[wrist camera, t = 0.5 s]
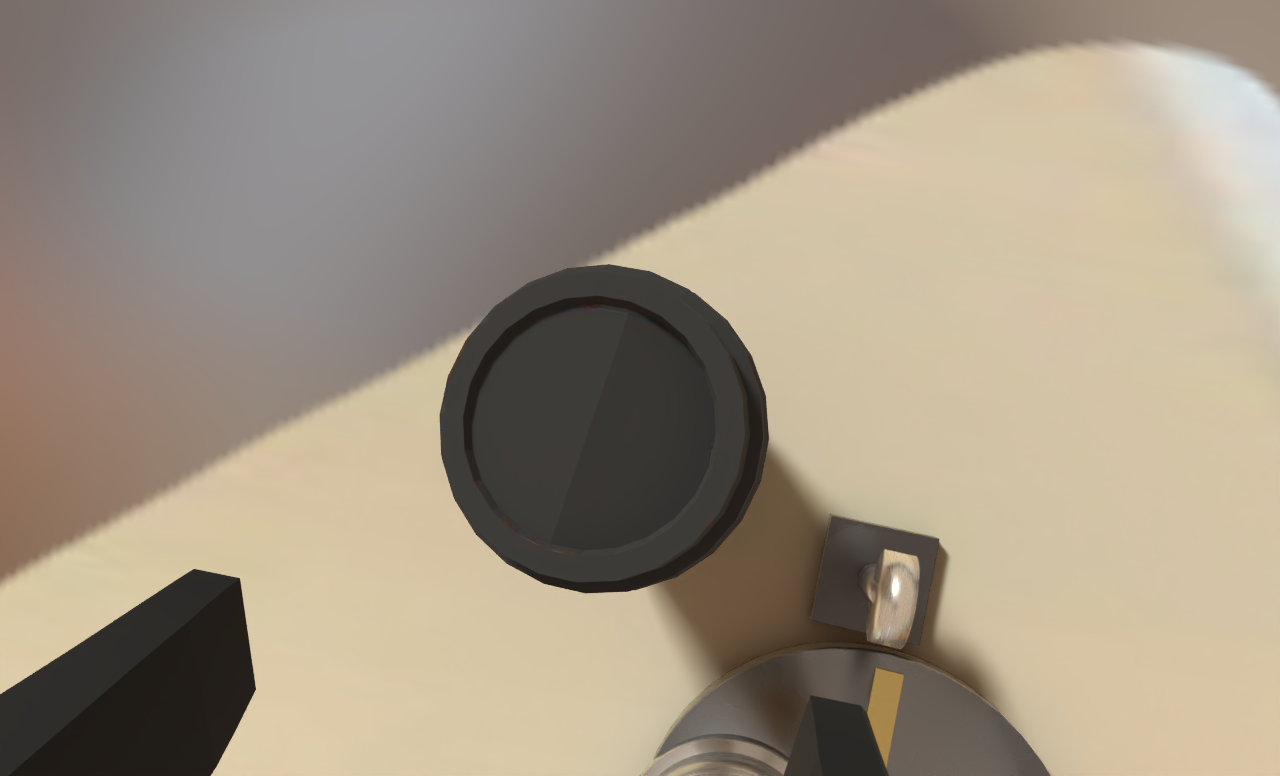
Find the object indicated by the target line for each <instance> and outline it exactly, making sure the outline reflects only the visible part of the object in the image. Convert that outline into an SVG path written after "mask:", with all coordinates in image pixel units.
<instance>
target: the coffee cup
mask: <svg viewBox="0 0 1280 776" xmlns="http://www.w3.org/2000/svg"><path fill="white" fill-rule="evenodd" d="M440 435H441V456H442V460H443V463H444V467H445V470H446V473H447V477H448V480H449V483H450V487H451V490H452V493H453V497H454V499H455V501H456V502H457V504H458V506H459V507H460V509H461V511H462V512H463V514H464V515H465V517H466V519H467V520H468V522H469V524H470V525H471V527H472V529H473V530H474V532H475V533H476V535H477V536H478V537H479V538H480V539H481V540H483V541H484V542H485V543H486V544H487V545H488V546H489V547H490V548H491V549H492V550H493V551H494V552H495V553H496V554H497V555H498V556H499V557H500V558H501V559H502V560H503V561H505V562H506V563H507V564H509V565H510V566H512V567H514V568H516V569H518V570H520V571H521V572H523V573H525V574H527V575H529V576H531V577H533V578H534V579H536V580H538V581H540V582H542V583H544V584H548V585H552V586H556V587H561V588H565V589H569V590H574V591H578V592H582V593H603V592H627V591H631V590H638V589H641V588H644V587H647V586H650V585H653V584H656V583H659V582H662V581H666V580H669V579H672V578H675V577H677V576H679V575H680V574H682V573H684V572H685V571H687V570H688V569H690V568H691V567H693V566H694V565H696V564H697V563H699V562H700V561H702V560H703V559H705V558H706V557H708V556H709V555H711V554H712V553H714V551H715V550H716V549H717V548H718V547H719V546H720V545H721V543H722V542H723V541H724V540H725V539H726V538H727V537H728V535H729V534H730V533H731V532H732V531H733V530H734V529H735V528H736V526H737V525H738V524H739V523H740V522H741V521H742V519H743V517H744V515H745V513H746V511H747V508H748V506H749V504H750V502H751V500H752V498H753V496H754V494H755V492H756V490H757V488H758V486H759V484H760V482H761V477H762V472H763V467H764V462H765V456H766V451H767V446H768V441H769V434H768V420H767V407H766V395H765V392H764V390H763V387H762V384H761V381H760V378H759V375H758V373H757V370H756V367H755V364H754V361H753V358H752V356H751V354H750V353H749V351H748V350H747V348H746V347H745V345H744V344H743V342H742V341H741V340H740V338H739V337H738V335H737V334H736V332H735V331H734V329H733V328H732V327H731V325H730V324H729V322H728V321H727V320H726V319H725V318H724V317H723V316H721V315H720V314H719V313H718V312H717V311H715V310H714V309H713V308H712V307H711V306H710V305H708V304H707V303H706V302H705V301H704V300H702V299H701V298H700V297H699V296H698V295H696V294H695V293H693V292H691V291H690V290H689V289H687V288H685V287H683V286H681V285H678V284H676V283H674V282H672V281H670V280H668V279H666V278H663V277H661V276H659V275H657V274H655V273H653V272H650V271H645V270H639V269H633V268H627V267H621V266H616V265H610V264H608V265H597V266H587V267H576V268H567V269H564V270H562V271H559V272H556V273H553V274H551V275H548V276H546V277H543V278H540V279H537V280H535V281H532V282H529V283H527V284H526V285H525V286H523V287H522V288H521V289H519V290H517V291H516V292H515V293H513V294H512V295H510V296H509V297H508V298H506V299H504V300H503V301H502V302H500V303H499V304H497V305H496V306H495V307H494V308H493V309H492V310H491V311H490V312H489V314H488V315H487V316H486V317H485V318H484V319H483V320H482V322H481V323H480V324H479V325H478V326H477V327H476V329H475V330H474V331H473V332H472V333H471V334H470V336H469V337H468V338H467V340H466V341H465V343H464V345H463V347H462V349H461V351H460V353H459V355H458V357H457V359H456V361H455V363H454V365H453V367H452V369H451V371H450V373H449V375H448V378H447V383H446V388H445V393H444V397H443V402H442V407H441V411H440Z"/></svg>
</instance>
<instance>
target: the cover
mask: <svg viewBox="0 0 1280 776" xmlns="http://www.w3.org/2000/svg"><path fill="white" fill-rule="evenodd" d="M788 761H789V758H788V757H787V756H786V755H784V754H783V753H781V752H780V751H778V750H776V749H775V748H773V747H771V746H769V745H767V744H765V743H763V742H761V741H758V740H755V739H752V738H749V737H745V736H739V735H734V734H708V735H702V736H697V737H693V738H690V739H687V740H685V741H682V742H680V743H678V744H676V745H674V746H672V747H670V748H668V749H667V750H666V751H664V752H663V753H661V754H660V755H659V756H657V757H656V758H655V759H654V760H653V761H652V762H651V763H650V764H649V765H648V766H647V767H646V769H645V770H644V771H643V772H642V774H641V775H640V776H783V775H784V772H785V769H786V766H787V763H788Z"/></svg>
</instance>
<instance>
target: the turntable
mask: <svg viewBox="0 0 1280 776" xmlns="http://www.w3.org/2000/svg"><path fill="white" fill-rule="evenodd" d="M810 695H812V696H817V697H822V698H827V699H832V700H837V701H842V702H847V703H852V704H856V705H861V706H862V707H863V709H864V710H865V711H866V713H867V714H868V717H869V720H870V724H871V727H872V730H873V732H874V735H875V738H876V741H877V744H878V747H879V750H880V753H881V755H882V758H883V761H884V763H885V766H886V769H887V772H888V774H889V776H1050V775H1049V773H1048V771H1047V770H1046V768H1045V766H1044V765H1043V763H1042V761H1041V760H1040V759H1039V757H1038V756H1037V755H1036V753H1035V752H1034V751H1033V750H1032V748H1031V747H1030V746H1029V744H1028V743H1027V742H1026V741H1025V739H1024V738H1023V737H1022V736H1021V734H1020V733H1019V732H1018V731H1017V730H1016V729H1015V728H1014V727H1013V726H1012V725H1011V724H1010V723H1009V722H1008V721H1007V720H1006V719H1005V718H1004V717H1003V716H1002V715H1001V714H1000V713H999V712H998V711H997V710H996V709H995V707H994V706H993V705H992V704H991V703H990V702H988V701H987V700H986V699H985V698H983V697H982V696H981V695H980V694H978V693H977V692H976V691H974V690H973V689H972V688H971V687H969V686H968V685H967V684H966V683H964V682H962V681H961V680H959V679H957V678H956V677H954V676H952V675H951V674H949V673H947V672H946V671H944V670H943V669H941V668H939V667H937V666H934V665H932V664H930V663H928V662H926V661H923V660H921V659H919V658H917V657H914V656H911V655H908V654H905V653H902V652H898V651H895V650H892V649H889V648H885V647H879V646H873V645H867V644H862V643H848V642H822V643H811V644H802V645H797V646H793V647H788V648H784V649H780V650H776V651H773V652H770V653H768V654H765V655H762V656H760V657H757V658H754V659H752V660H750V661H748V662H746V663H744V664H742V665H740V666H739V667H737V668H735V669H733V670H731V671H729V672H727V673H726V674H725V675H723V676H722V677H721V678H719V679H718V680H717V681H715V682H714V683H712V684H711V685H710V686H708V687H707V688H706V689H705V690H704V691H703V692H702V693H701V694H700V695H699V696H698V697H696V698H695V699H694V700H693V701H692V702H691V703H690V704H689V705H688V706H687V707H686V709H685V710H684V711H683V712H682V714H681V715H680V716H679V718H678V719H677V720H676V721H675V723H674V724H673V725H672V726H671V728H670V730H669V731H668V733H667V735H666V736H665V738H664V740H663V742H662V743H661V745H660V747H659V748H658V750H657V752H656V755H655V757H654V759H655V758H656V757H657V756H659V755H660V754H661V753H663V752H664V751H666V750H667V749H668V748H670V747H672V746H674V745H676V744H678V743H680V742H682V741H685V740H687V739H690V738H693V737H697V736H702V735H708V734H734V735H739V736H745V737H749V738H752V739H755V740H758V741H761V742H763V743H765V744H767V745H769V746H771V747H773V748H775V749H776V750H778V751H780V752H781V753H783V754H784V755H786V756H787V757H788V758H790V755H791V752H792V749H793V746H794V743H795V740H796V737H797V734H798V731H799V728H800V725H801V722H802V719H803V716H804V713H805V710H806V707H807V704H808V701H809V698H810ZM654 759H653V760H654Z"/></svg>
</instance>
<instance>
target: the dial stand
mask: <svg viewBox="0 0 1280 776" xmlns="http://www.w3.org/2000/svg"><path fill="white" fill-rule="evenodd" d="M938 544H939V539H938V538H936V537H933V536H928V535H923V534H919V533H914V532H910V531H905V530H900V529H896V528H891V527H887V526H882V525H877V524H873V523H868V522H864V521H859V520H855V519H850V518H845V517H841V516H836V515H832V514H830V518H829V523H828V528H827V533H826V538H825V544H824V549H823V554H822V559H821V564H820V569H819V574H818V579H817V584H816V589H815V594H814V599H813V604H812V609H811V614H810V617H811V620H814V621H818V622H822V623H827V624H831V625H835V626H839V627H843V628H848V629H852V630H856V631H860V632H864V633H866V637H867V641H868V642H872V643H876V644H881V645H885V646H889V647H893V648H897V649H902V648H903V647H904V646H905V644H906V642H907V643H911V644H915V645H919V643H920V638H921V633H922V628H923V622H924V617H925V612H926V607H927V601H928V596H929V591H930V586H931V581H932V575H933V570H934V565H935V560H936V554H937V549H938Z"/></svg>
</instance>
